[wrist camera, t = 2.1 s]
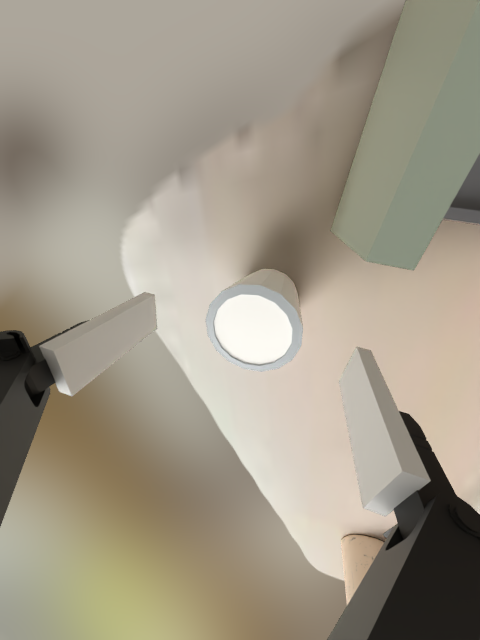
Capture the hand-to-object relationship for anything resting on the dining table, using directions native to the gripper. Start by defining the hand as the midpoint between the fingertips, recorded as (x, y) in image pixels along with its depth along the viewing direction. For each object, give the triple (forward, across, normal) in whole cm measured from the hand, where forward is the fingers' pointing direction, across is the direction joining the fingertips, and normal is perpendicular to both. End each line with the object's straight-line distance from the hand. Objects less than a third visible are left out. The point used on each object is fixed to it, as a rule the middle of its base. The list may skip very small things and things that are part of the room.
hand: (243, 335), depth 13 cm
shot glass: (+8, 0, 0) cm, 8 cm away
